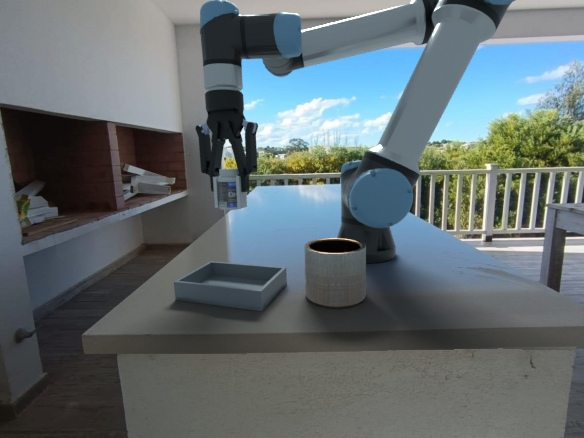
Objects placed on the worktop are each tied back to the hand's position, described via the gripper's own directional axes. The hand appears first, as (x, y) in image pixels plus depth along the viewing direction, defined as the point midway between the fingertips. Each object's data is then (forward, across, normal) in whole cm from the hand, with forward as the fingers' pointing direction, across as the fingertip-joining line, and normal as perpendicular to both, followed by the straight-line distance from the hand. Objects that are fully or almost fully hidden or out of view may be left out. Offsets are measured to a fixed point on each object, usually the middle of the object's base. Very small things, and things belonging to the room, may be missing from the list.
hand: (231, 207), depth 71 cm
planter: (+15, -24, +5) cm, 29 cm away
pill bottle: (+1, 0, 0) cm, 1 cm away
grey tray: (+15, -5, +9) cm, 18 cm away
